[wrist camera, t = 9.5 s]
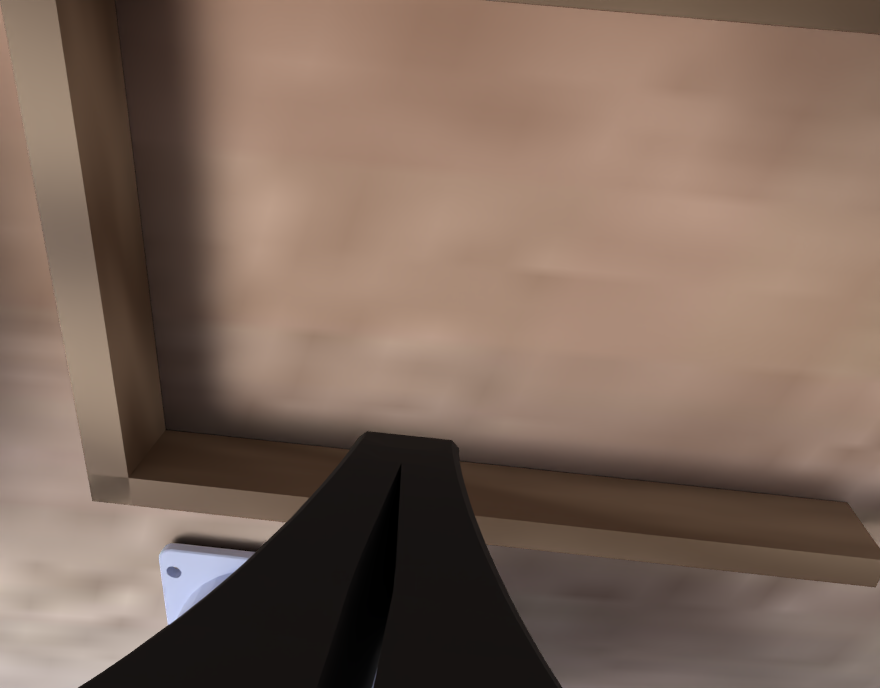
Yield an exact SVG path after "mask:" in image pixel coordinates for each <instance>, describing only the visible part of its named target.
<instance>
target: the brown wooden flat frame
mask: <svg viewBox="0 0 880 688" xmlns="http://www.w3.org/2000/svg"><path fill="white" fill-rule="evenodd" d="M488 1H499V2H511V3H522V4H534V5H545V6H557V7H568V8H580V9H592V10H603V11H615V12H626V13H638V14H649V15H661V16H672V17H684V18H695V19H707V20H718V21H730V22H742V23H753V24H765V25H776V26H788V27H799V28H811V29H822V30H834V31H845V32H857V33H868V34H880V0H488ZM0 3H1V9H2V14H3V19H4V25H5V30H6V36H7V41H8V46H9V52H10V57H11V63H12V68H13V74H14V79H15V84H16V90H17V95H18V101H19V106H20V111H21V117H22V122H23V128H24V133H25V138H26V144H27V149H28V155H29V160H30V166H31V171H32V176H33V182H34V187H35V193H36V198H37V203H38V209H39V214H40V220H41V225H42V231H43V236H44V241H45V247H46V252H47V258H48V263H49V268H50V274H51V279H52V285H53V290H54V296H55V301H56V306H57V312H58V317H59V323H60V328H61V333H62V339H63V344H64V350H65V355H66V361H67V366H68V371H69V377H70V382H71V388H72V393H73V398H74V404H75V409H76V415H77V420H78V426H79V431H80V436H81V442H82V447H83V453H84V458H85V463H86V469H87V474H88V480H89V485H90V491H91V496H92V501H97V502H106V503H115V504H124V505H133V506H142V507H151V508H160V509H169V510H178V511H187V512H197V513H206V514H215V515H224V516H233V517H242V518H251V519H260V520H269V521H278V522H287V521H288V520H289V519H290V518H291V517H292V516H293V515H294V514H295V513H296V512H297V511H298V510H299V509H300V507H301V506H302V505H303V504H304V503H305V502H306V501H307V500H308V499H309V498H310V497H311V496H312V494H313V493H314V492H315V491H316V490H317V489H318V488H319V487H320V486H321V485H322V483H323V482H324V481H325V480H326V479H327V478H328V476H329V475H330V474H331V473H332V472H333V470H334V469H335V468H336V467H337V466H338V464H339V463H340V462H341V461H342V459H343V458H344V457H345V456H346V454H347V453H348V452H349V449H340V448H330V447H321V446H312V445H302V444H293V443H284V442H274V441H265V440H255V439H246V438H237V437H227V436H218V435H209V434H199V433H190V432H180V431H171V430H166V429H165V421H164V412H163V404H162V396H161V387H160V379H159V370H158V362H157V353H156V345H155V336H154V328H153V319H152V311H151V303H150V294H149V286H148V277H147V269H146V260H145V252H144V243H143V235H142V227H141V218H140V210H139V201H138V193H137V184H136V176H135V167H134V159H133V150H132V142H131V134H130V125H129V117H128V108H127V100H126V91H125V83H124V74H123V66H122V58H121V49H120V41H119V32H118V24H117V15H116V7H115V0H0ZM460 466H461V471H462V475H463V479H464V483H465V486H466V490H467V493H468V497H469V500H470V503H471V506H472V509H473V512H474V515H475V518H476V520H477V523H478V525H479V528H480V530H481V533H482V536H483V538H484V541H485V543H486V544H487V545H496V546H505V547H514V548H523V549H532V550H541V551H550V552H559V553H569V554H578V555H587V556H596V557H605V558H614V559H623V560H632V561H641V562H650V563H659V564H668V565H677V566H686V567H696V568H705V569H714V570H723V571H732V572H741V573H750V574H759V575H768V576H777V577H786V578H795V579H804V580H814V581H823V582H832V583H841V584H850V585H859V586H868V587H876V585H877V583H878V581H879V579H880V548H879V547H878V545H877V544H876V543H875V541H874V540H873V538H872V537H871V536H870V534H869V533H868V531H867V530H866V528H865V527H864V526H863V524H862V523H861V521H860V520H859V519H858V517H857V516H856V514H855V513H854V511H853V510H852V509H851V507H850V506H849V504H848V503H846V502H836V501H827V500H818V499H808V498H799V497H789V496H780V495H771V494H761V493H752V492H743V491H733V490H724V489H714V488H705V487H696V486H686V485H677V484H668V483H658V482H649V481H640V480H630V479H621V478H611V477H602V476H593V475H583V474H574V473H565V472H555V471H546V470H536V469H527V468H518V467H508V466H499V465H490V464H480V463H471V462H462V461H460Z"/></svg>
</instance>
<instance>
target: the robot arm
mask: <svg viewBox="0 0 880 688" xmlns="http://www.w3.org/2000/svg"><path fill="white" fill-rule="evenodd" d="M159 563H160V571H161V578H162V585H163V593H164V600H165V607H166V614H167V622H168V626H166V627H165V628H164V629H162V630H161V631H160V632H158V633H157V634H156V635H154V636H153V637H151V638H150V639H149V640H147V641H146V642H145V643H143V644H142V645H140V646H139V647H138V648H136V649H135V650H134V651H132V652H131V653H130V654H128V655H127V656H125V657H124V658H122V659H121V660H119V661H118V662H116V663H115V664H114V665H112V666H111V667H109V668H108V669H106V670H105V671H103V672H102V673H100V674H99V675H97V676H96V677H94V678H93V679H91V680H90V681H88V682H86V683H85V684H83V685H81V686H80V687H78V688H562V687H561V685H560V683H559V682H558V680H557V679H556V677H555V676H554V674H553V672H552V671H551V669H550V668H549V666H548V665H547V663H546V661H545V660H544V658H543V656H542V654H541V653H540V651H539V649H538V648H537V646H536V644H535V642H534V641H533V639H532V637H531V636H530V634H529V632H528V630H527V629H526V627H525V625H524V623H523V621H522V619H521V617H520V616H519V614H518V612H517V610H516V608H515V606H514V604H513V602H512V600H511V598H510V596H509V594H508V592H507V590H506V588H505V586H504V584H503V582H502V580H501V577H500V575H499V573H498V571H497V569H496V567H495V564H494V562H493V560H492V558H491V555H490V553H489V551H488V548H487V546H486V543H485V541H484V538H483V536H482V533H481V530H480V528H479V525H478V523H477V520H476V518H475V515H474V512H473V509H472V506H471V503H470V500H469V497H468V493H467V490H466V486H465V483H464V479H463V475H462V471H461V466H460V459H459V448H458V447H457V446H456V444H455V443H454V442H453V441H452V440H444V439H435V438H425V437H416V436H406V435H397V434H387V433H378V432H369V431H367V432H366V433H364V434H363V435H362V436H360V437H359V438H358V439H357V441H356V442H355V444H354V445H353V446H352V448H351V449H350V450H349V452H348V453H347V454H346V456H345V457H344V458H343V459H342V461H341V462H340V463H339V464H338V466H337V467H336V468H335V469H334V470H333V472H332V473H331V474H330V475H329V476H328V478H327V479H326V480H325V481H324V482H323V483H322V485H321V486H320V487H319V488H318V489H317V490H316V491H315V492H314V493H313V494H312V496H311V497H310V498H309V499H308V500H307V501H306V502H305V503H304V504H303V505H302V506H301V507H300V509H299V510H298V511H297V512H296V513H295V514H294V515H293V516H292V517H291V518H290V519H289V520H288V521H287V522H286V523H285V524H284V525H283V526H282V527H281V528H280V529H279V530H278V531H277V532H276V533H275V534H274V535H273V536H272V537H271V538H270V539H269V540H268V541H267V542H266V543H265V544H264V545H263V546H261V547H260V548H259V549H258V550H257V551H256V552H250V551H241V550H232V549H223V548H214V547H206V546H197V545H188V544H179V543H170V544H167V545H166V546H165V547H164V548H163V550H162V551H161V553H160V554H159ZM173 566H174V567H177V568H178V569H176V568H174V567H173Z"/></svg>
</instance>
